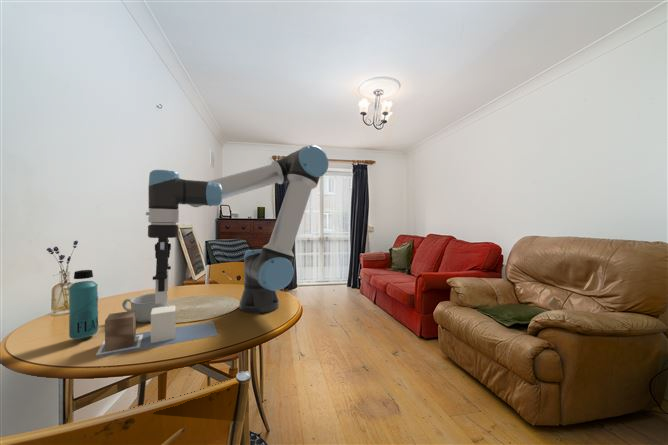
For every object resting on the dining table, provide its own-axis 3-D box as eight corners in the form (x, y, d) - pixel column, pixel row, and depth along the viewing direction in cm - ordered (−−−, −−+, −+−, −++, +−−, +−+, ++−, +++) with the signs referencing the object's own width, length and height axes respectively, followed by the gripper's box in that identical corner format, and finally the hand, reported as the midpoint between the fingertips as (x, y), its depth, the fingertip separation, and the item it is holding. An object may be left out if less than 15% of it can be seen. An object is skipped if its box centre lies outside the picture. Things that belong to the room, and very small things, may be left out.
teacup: (174, 315, 101) (174, 293, 101) (152, 327, 90) (152, 302, 90) (139, 313, 102) (139, 292, 102) (113, 325, 92) (112, 300, 91)
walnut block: (135, 337, 81) (135, 310, 81) (133, 346, 76) (133, 316, 76) (109, 342, 78) (109, 313, 78) (105, 351, 73) (104, 320, 73)
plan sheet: (212, 322, 94) (212, 321, 94) (217, 336, 83) (217, 334, 83) (105, 340, 80) (105, 338, 80) (93, 359, 69) (93, 357, 69)
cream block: (175, 331, 86) (175, 305, 86) (175, 338, 81) (175, 311, 81) (152, 335, 83) (152, 308, 83) (150, 343, 78) (150, 314, 78)
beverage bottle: (73, 346, 76) (72, 273, 76) (64, 340, 80) (64, 270, 79) (102, 338, 82) (102, 269, 81) (93, 332, 85) (93, 267, 85)
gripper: (151, 223, 90) (150, 288, 90) (143, 224, 69) (142, 310, 69) (177, 223, 94) (176, 286, 94) (178, 225, 72) (177, 306, 73)
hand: (162, 296), depth 81 cm, fingers open, 13 cm apart
